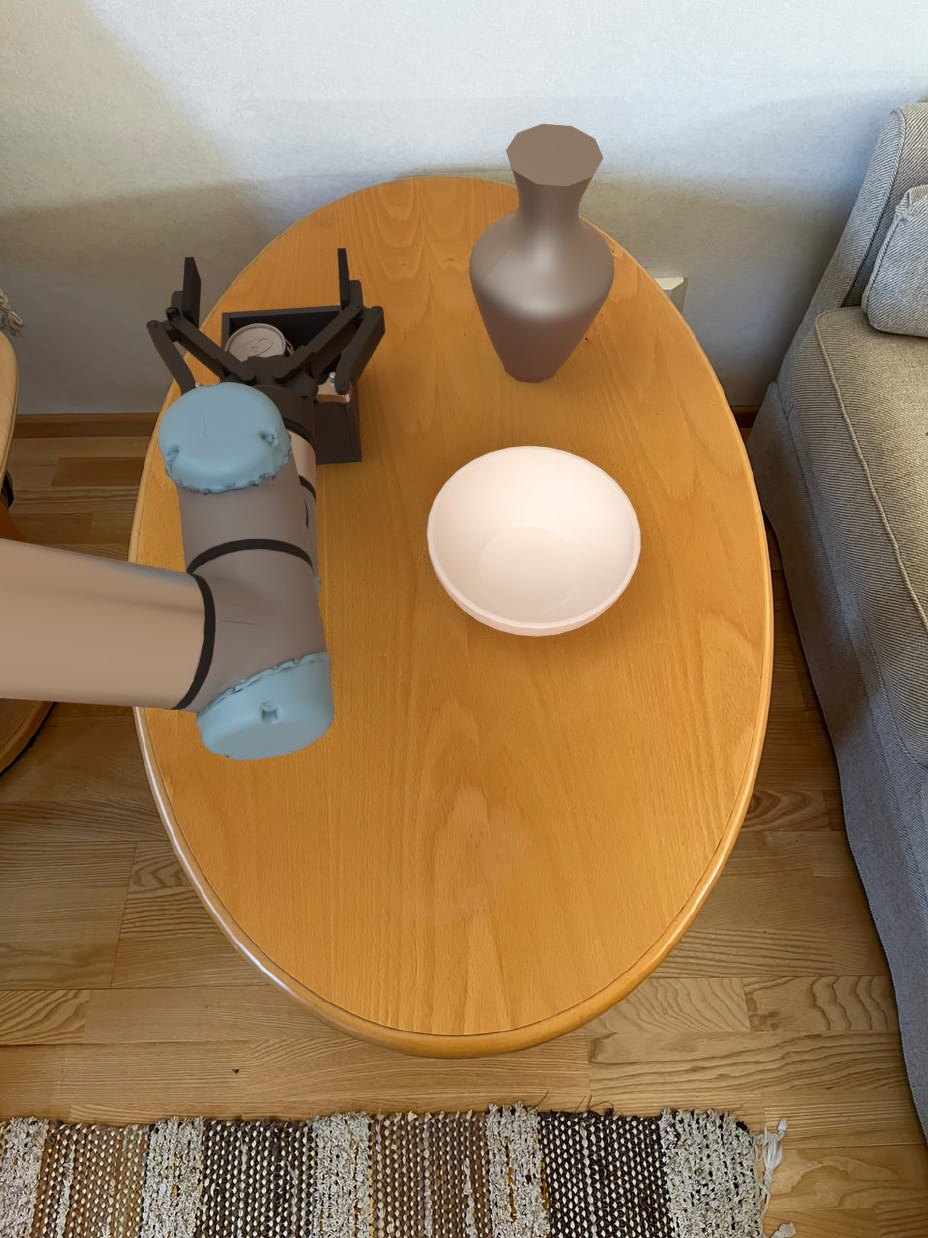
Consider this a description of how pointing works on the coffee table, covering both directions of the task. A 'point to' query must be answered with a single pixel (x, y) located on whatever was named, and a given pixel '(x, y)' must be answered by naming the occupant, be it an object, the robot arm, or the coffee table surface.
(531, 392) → the coffee table surface
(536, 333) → the vase
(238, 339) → the beverage can
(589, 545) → the bowl
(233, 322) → the trash bin
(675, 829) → the coffee table surface
